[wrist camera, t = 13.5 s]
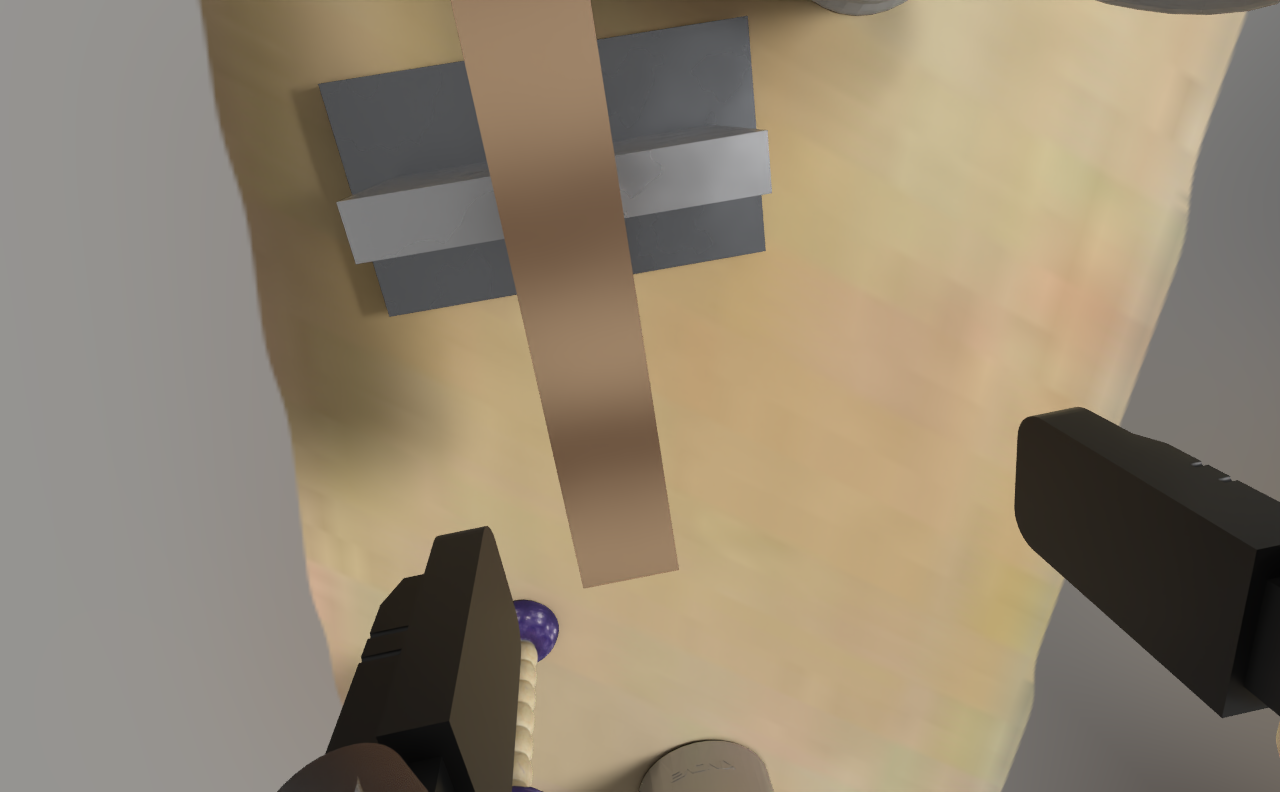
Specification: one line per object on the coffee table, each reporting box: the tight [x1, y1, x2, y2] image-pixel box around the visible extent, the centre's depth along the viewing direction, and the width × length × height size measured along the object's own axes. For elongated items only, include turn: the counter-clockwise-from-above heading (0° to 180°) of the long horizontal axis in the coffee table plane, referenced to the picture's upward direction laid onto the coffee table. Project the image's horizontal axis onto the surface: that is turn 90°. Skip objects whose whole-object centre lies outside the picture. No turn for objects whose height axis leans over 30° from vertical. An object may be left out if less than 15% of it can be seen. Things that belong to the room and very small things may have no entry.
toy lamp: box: [512, 600, 559, 792], centre depth 34 cm, size 5×5×17 cm
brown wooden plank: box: [451, 0, 679, 588], centre depth 20 cm, size 22×3×6 cm, turn 9°
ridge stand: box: [318, 16, 772, 317], centre depth 27 cm, size 10×18×10 cm, turn 99°
